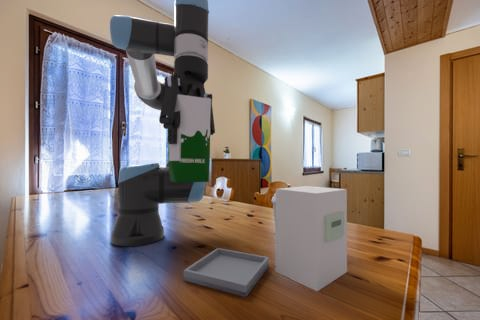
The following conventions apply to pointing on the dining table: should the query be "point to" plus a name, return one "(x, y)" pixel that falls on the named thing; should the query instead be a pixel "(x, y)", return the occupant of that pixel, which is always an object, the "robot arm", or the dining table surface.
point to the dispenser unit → (311, 234)
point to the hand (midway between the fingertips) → (190, 161)
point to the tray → (227, 271)
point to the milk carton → (192, 140)
